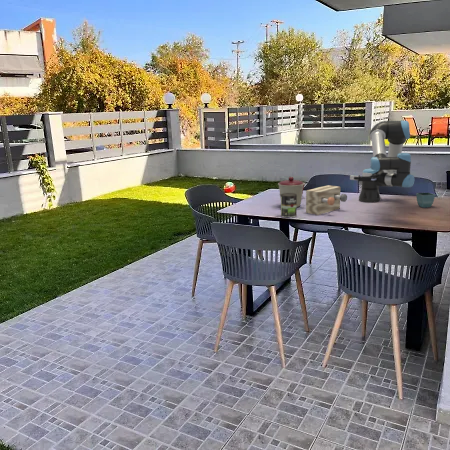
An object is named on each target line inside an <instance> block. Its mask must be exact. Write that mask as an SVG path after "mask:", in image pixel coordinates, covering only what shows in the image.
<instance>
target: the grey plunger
mask: <svg viewBox="0 0 450 450" xmlns="http://www.w3.org/2000/svg"><path fill="white" fill-rule="evenodd" d="M334 198H335V199H340V202H343V203H346V201H347V200H348V195H347V194H346V193H342V194H340V195H334Z"/></svg>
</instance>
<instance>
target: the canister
mask: <svg viewBox="0 0 450 450" xmlns="http://www.w3.org/2000/svg"><path fill="white" fill-rule="evenodd" d="M304 183H305V182H304V181H301V180H298V179H294V176H289V177H288V179H287V180H286V179H285V180H282V181H280V182H278V183H277V185H278V189H279V190H278V191H279V197H280V200H281V194H284V193H294V194H297V208H299V207H300V206H301V203H302V199H303V198H302V197H303V194H302V192H303V193H304V189H303V185H304ZM304 186H305V185H304Z"/></svg>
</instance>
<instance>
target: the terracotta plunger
mask: <svg viewBox="0 0 450 450" xmlns="http://www.w3.org/2000/svg"><path fill="white" fill-rule="evenodd" d="M321 202H327V203H328V205H333V204H334V202H335V199H334V198H333V197H329V198H328V199H325V198H321Z"/></svg>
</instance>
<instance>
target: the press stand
mask: <svg viewBox="0 0 450 450" xmlns="http://www.w3.org/2000/svg"><path fill="white" fill-rule="evenodd" d="M341 189H342V188H341V186H337V185H329V184H328V185H324V186H319V187H315V188H312V189H307V190H306V191H305V213H306V214H309V215H310V214H311V215H315V216H320V215H323V214H327V213H330V212H333V211H337V210H339V209H341V200H340V199H335V198H334V195H340V196H341ZM329 197H333V198H334V199H335V202H334V204H333V205H328V203H327V202H321V198H325V199H328V198H329Z"/></svg>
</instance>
